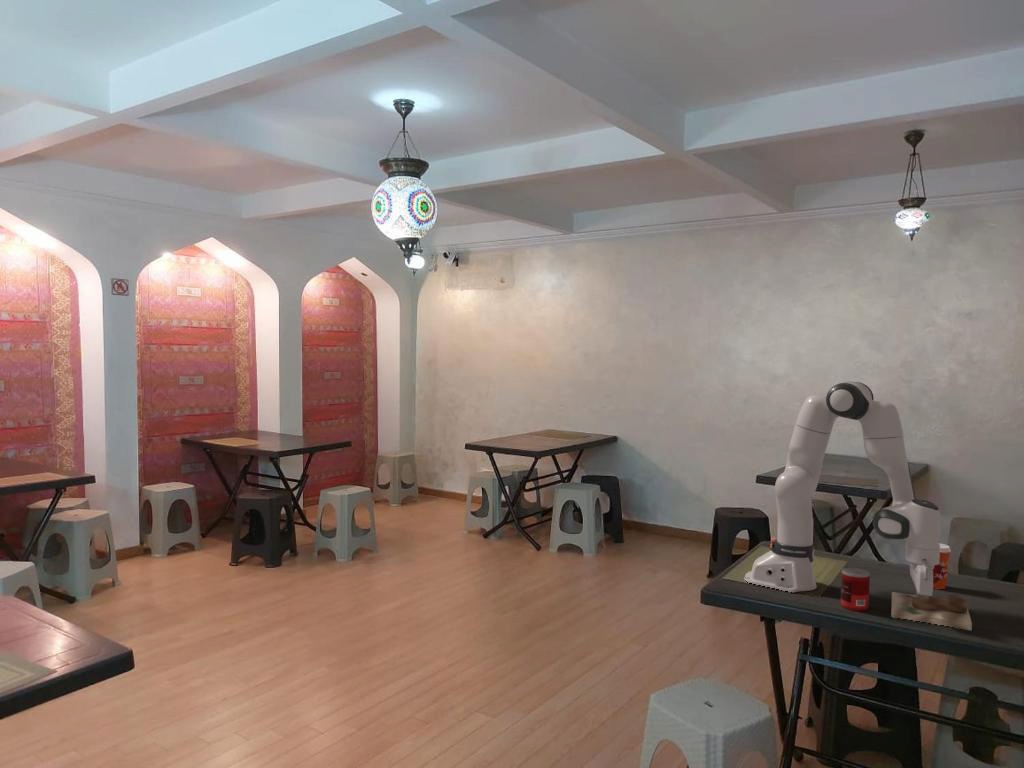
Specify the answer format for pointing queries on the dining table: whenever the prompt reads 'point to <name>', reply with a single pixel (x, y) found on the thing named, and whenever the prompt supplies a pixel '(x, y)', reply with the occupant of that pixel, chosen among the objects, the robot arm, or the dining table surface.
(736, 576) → the dining table surface
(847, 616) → the dining table surface
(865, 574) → the canned food
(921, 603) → the wooden spoon
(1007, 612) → the dining table surface
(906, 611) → the cream flat square slab
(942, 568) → the paper cup
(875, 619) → the dining table surface
